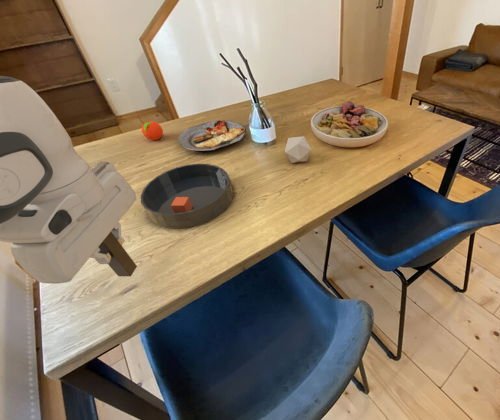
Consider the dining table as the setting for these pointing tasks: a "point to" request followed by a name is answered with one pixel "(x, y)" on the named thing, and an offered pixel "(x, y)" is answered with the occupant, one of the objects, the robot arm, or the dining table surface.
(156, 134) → the clementine
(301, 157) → the die
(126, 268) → the stick
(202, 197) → the bowl
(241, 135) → the food plate
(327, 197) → the dining table surface
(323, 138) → the bowl
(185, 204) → the block
